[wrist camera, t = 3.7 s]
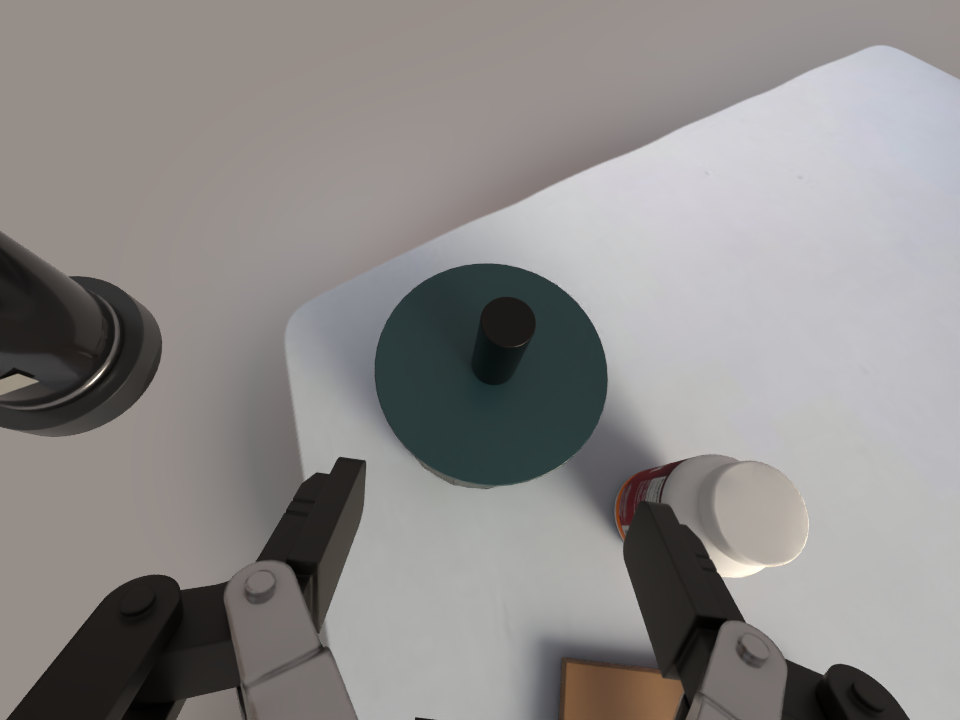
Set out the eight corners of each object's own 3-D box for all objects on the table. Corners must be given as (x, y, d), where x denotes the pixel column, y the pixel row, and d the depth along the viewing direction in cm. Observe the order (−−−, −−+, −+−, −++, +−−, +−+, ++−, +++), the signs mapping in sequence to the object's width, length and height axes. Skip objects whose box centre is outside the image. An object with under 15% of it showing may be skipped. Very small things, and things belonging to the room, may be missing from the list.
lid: (354, 469, 23) (322, 448, 16) (400, 258, 27) (389, 179, 21) (597, 502, 23) (655, 494, 17) (603, 289, 27) (651, 222, 21)
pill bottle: (700, 481, 32) (825, 461, 22) (696, 574, 30) (832, 601, 19) (615, 461, 32) (700, 431, 22) (605, 552, 30) (694, 568, 19)
